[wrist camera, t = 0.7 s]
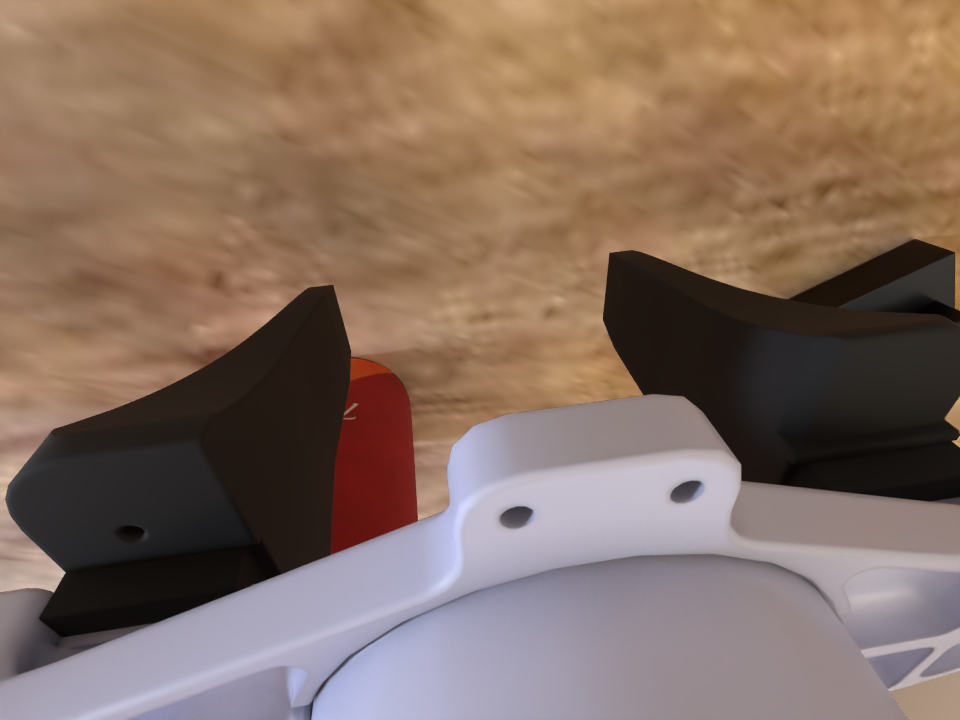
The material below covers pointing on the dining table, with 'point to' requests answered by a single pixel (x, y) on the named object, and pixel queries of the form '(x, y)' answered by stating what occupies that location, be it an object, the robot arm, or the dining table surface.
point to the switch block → (895, 283)
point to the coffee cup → (373, 459)
